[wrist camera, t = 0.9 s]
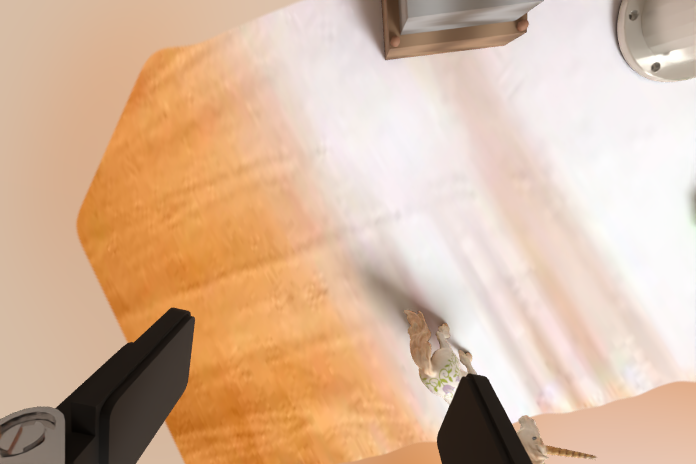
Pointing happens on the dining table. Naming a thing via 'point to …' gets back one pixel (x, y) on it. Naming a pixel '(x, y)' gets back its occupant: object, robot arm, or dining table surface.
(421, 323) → the unicorn figurine
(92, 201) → the dining table surface
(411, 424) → the dining table surface
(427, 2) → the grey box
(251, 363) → the dining table surface
